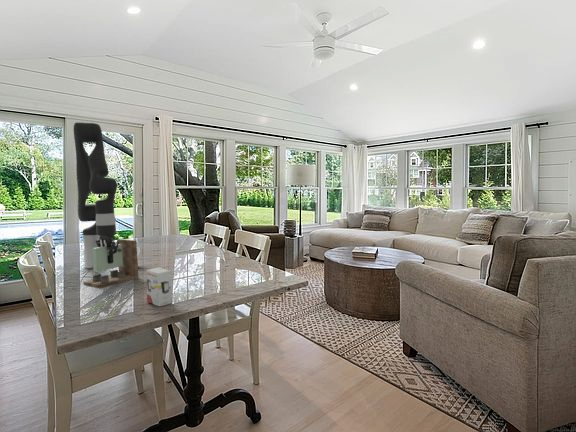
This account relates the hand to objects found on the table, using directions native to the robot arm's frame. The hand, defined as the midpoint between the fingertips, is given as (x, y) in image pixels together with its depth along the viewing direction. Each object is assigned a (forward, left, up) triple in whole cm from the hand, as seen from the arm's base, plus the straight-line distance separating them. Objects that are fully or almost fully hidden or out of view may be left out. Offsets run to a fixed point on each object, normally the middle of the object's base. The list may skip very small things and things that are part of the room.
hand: (108, 262), depth 149 cm
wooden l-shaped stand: (0, +1, -8) cm, 8 cm away
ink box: (+43, -9, -9) cm, 45 cm away
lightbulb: (-16, +24, -9) cm, 30 cm away
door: (0, 0, -3) cm, 3 cm away
